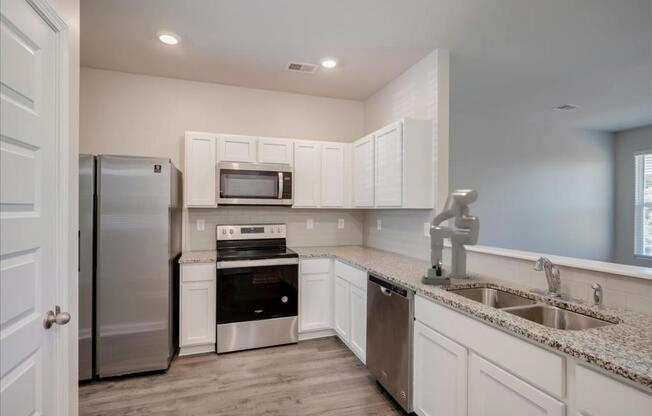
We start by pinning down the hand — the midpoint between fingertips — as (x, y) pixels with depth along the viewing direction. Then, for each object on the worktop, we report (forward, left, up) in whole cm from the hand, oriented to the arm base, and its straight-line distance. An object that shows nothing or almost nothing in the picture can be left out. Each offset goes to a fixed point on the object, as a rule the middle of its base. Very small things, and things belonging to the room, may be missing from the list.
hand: (436, 274), depth 203 cm
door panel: (0, 0, -5) cm, 5 cm away
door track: (0, 0, -6) cm, 6 cm away
